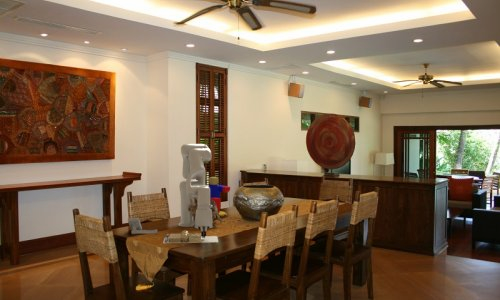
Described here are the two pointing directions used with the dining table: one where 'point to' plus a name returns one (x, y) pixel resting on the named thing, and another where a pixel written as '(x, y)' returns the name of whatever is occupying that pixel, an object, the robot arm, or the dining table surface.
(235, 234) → the dining table surface
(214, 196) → the figurine
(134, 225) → the door handle
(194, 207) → the decorative coral sculpture
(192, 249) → the dining table surface
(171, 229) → the dining table surface
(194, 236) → the door leaf
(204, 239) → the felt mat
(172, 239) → the frame leaf
